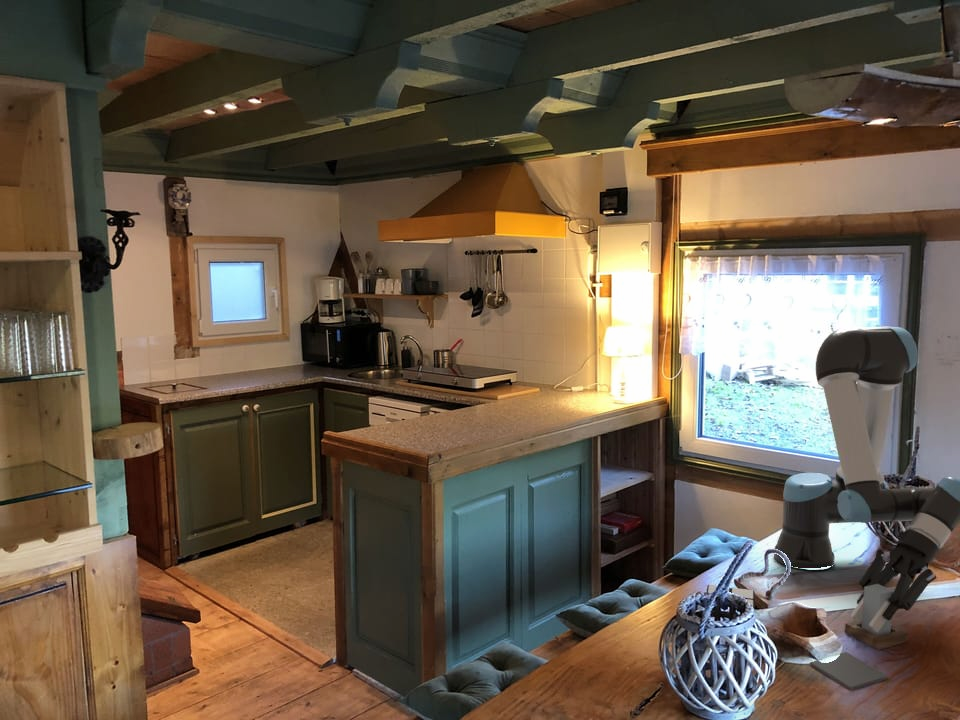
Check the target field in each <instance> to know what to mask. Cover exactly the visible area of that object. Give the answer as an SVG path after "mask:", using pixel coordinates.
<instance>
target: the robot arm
mask: <svg viewBox="0 0 960 720" xmlns="http://www.w3.org/2000/svg"><path fill="white" fill-rule="evenodd" d="M918 354H919V353H918V348H917V343H916V342H915V340H914V337H913V335H912V334H911V333H910V332H909V331H908V330H906V329H905V328H903V327H899V326H888V325H884V326H861V327H860V326H859V327H855V326H849V327H848V326H847V327H842V328H838V329H836V330H835V331H833V332H831V333H830V334H829V335H828V336H827V337H826V338H825V339H824V340H823V342H822V344H821V345H820V347H819V349H818V351H817V355H816V359H815V376H816V381H817V385H818V386H820V387H822V388H823V391H824V392H823V393H824V397H825V401H826V406H827V410H828V414H829V419H830V424H831V428H832V434H833V438H834V443H835V447H836V452H837V456H838V461H839V465H840V466H838V467H837V469H836V472H835V478H834V479H832V478H831V477H830V476H829V475H827V474H825V473H820V472H816V473H815V472H802V473H797V474H794V475H791V476H789V477H788V478H787V479H786V480H785V483H784V489H783V493H782V496H783V501H782V503H783V504H782V525H781V526H782V528H781V532H780V534H779V536H778V539H777V542H776V544H775V546H774V549H778V550H780V551H782V552H783V553H785V554H786V555H787V557H788V558H789V560H790V562H791V566H793V567H798V568H821V567H827V566H832V565H833V564H834V565H835V558H836V557H835V553H834V552H833V548H832V544H831V543H832V542H831V540H830V535H829V534H830V524H847V523H851V524H852V523H862V524H863V523H864V524H867V523H879V522H908V521H909V522H910V523H909V524H908V525H907V529H905V530H904V532H903V533H902V534H901V536H900V537H899V538H898V540H897V543H896V546H895V547H894V548H892V549H891V550H890V551H884V550H883V548H878V549H877V551H876V554H875V557H874V559H873V561H872V562H871V564H870V565H869V567H868V568H867V570H866V571H865V573H864V575H862V577H861V579H860V580H859V582H858V585H859V586H860V587H861V588H862V589H863V590H864V587H866V586H870V585H874V584H879V585H881V586H884V587H886V585H887V584H888V583H889V582H891V580H892V579H893V578H894V577H898V575H900V577H899V578H898V581H897V583H896V586H895V589H894V590H893V595H892V597H891V599H889V601H890V602H891V603H889V602H888V601H885V602H884V604H883V605H882V607H881V608H880V609H879V611H878V612H877V613H876V615H875V616H874V618H873V619H872V621H871V622H870V624H869V626H870V627H871V628H872V629H873V630H874V631H875V632H876V633H878V632H879V630H880V629H881V627H882V626H883V624H884V623H885V622H886V620H888V621H889V620H891V621H892V619H893V617H894V615H895V614H896V613H897V611H898V610H900V609H901V610H904V611H909V610H911V608H912V607H913V605H914V604H915V603H916V602H917V600H918V599H919V598H920V596H921V595H922V593H923V592H924V591H925V589H926V588H927V586H928V585H929V584H931V583H932V582H934V581H935V580H936V579H937V575H936V574H935V573H934V572H933V570H932V569H931V568H929V564H930V563H932V562H933V561H934V560H935V557H936V556H937V555H938V554H939V551H940V549H941V548H943V546H944V544H945V543H946V542H947V540H948V538H949V537H950V536H951V534H952V532H953V531H954V530H955V529H956V527H957V526H958V525H959V523H960V479H958V478H955V477H951V476H944V477H943V478H941V479H940V480H939V481H938V482H937V483H936V485H935V487H925V488H924V487H914V486H913V487H912V486H911V487H903V488H890V486H889V484H888V483H887V482H886V481H885V477H884V475H883V474H882V473H881V472H880V467H881V462H882V457H883V452H884V446H885V440H886V435H887V429H888V422H889V418H890V412H891V405H892V401H893V394H894V389H895V388H896V387H898V386H899V385H901V384H902V383H903V378H904V377H903V376H904V374H905V373H906V374H908V373H909V372H912V370H913V369H914V368H915V367H916V366H917V363H918ZM773 558H774V559H775V561H777V562H778V563H779V564H781V565H783V566H785V563H784V561H783V559H782V558H781V557H780V556H779V555H777V554H774V553H773ZM916 576H917V577H916ZM863 599H864V591H863V592H862V593H861V595H860V596H859V598H857V600H856V604H857V605H856V607H855V608H854V609H853V611H852V612H851V614H850V617H851V618H852V619H853V621H856V622H857V623H860V621H861V620H862V615H863Z"/></svg>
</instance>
